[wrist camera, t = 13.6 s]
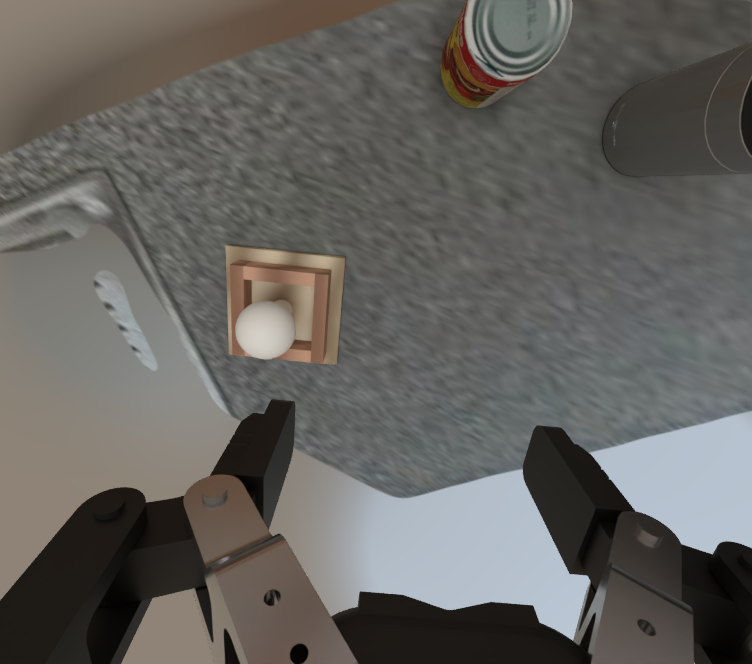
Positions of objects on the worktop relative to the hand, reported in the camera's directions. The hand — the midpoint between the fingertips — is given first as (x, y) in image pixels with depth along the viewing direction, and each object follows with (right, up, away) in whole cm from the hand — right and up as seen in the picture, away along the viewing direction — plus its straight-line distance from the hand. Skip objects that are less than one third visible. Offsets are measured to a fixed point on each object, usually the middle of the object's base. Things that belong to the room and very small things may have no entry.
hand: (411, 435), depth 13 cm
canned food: (+9, +31, +27) cm, 42 cm away
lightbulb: (-13, +7, +35) cm, 38 cm away
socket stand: (-13, +7, +36) cm, 39 cm away
